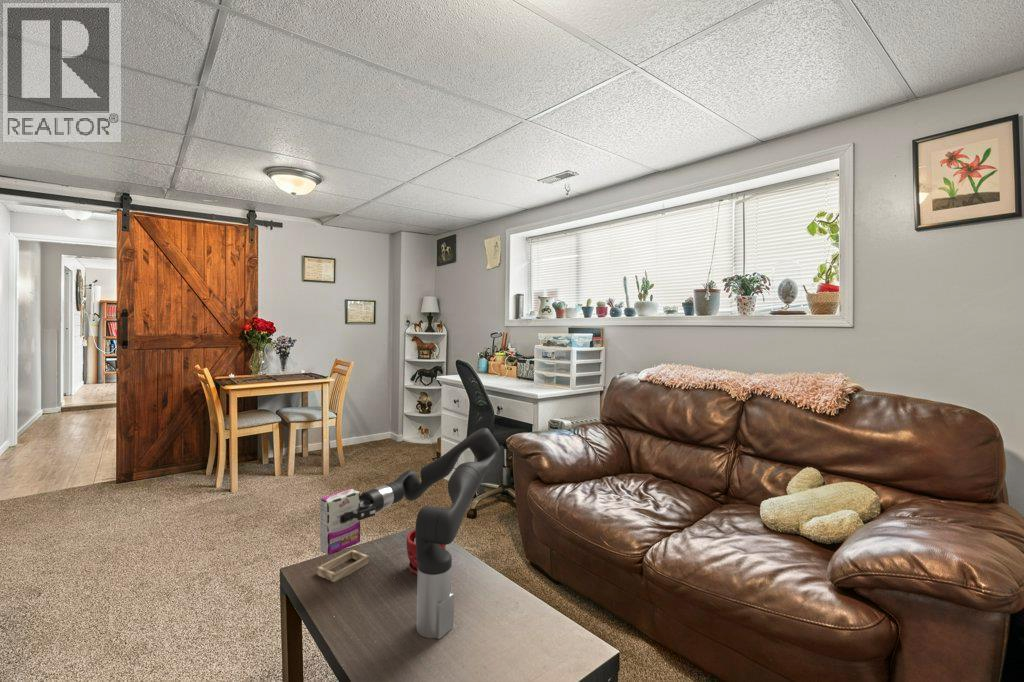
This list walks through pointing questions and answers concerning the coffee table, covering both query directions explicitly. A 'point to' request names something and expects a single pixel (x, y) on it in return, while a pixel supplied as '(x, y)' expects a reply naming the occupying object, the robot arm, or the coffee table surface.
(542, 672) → the coffee table surface
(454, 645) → the coffee table surface
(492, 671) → the coffee table surface
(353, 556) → the birch collar
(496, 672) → the coffee table surface
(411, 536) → the plant pot
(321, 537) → the candy bar box
